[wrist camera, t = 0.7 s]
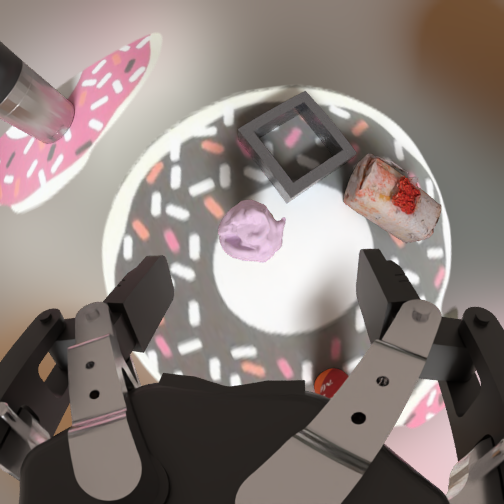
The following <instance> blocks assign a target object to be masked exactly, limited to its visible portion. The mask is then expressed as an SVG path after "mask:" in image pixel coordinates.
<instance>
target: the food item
mask: <svg viewBox="0 0 504 504" xmlns="http://www.w3.org/2000/svg"><path fill="white" fill-rule="evenodd" d="M395 168H399V169H400V170H401V171H402V172H406V173H408V172H407V171H405V170H404V169H402V168H401V167H400V166H398V165H397V164H395V163H394V162H392V161H389V160H385V159H383V158H381V157H377V156H374V154H367V155H365V157H364V158H363V159H362V160H360V161H359V162H358V164H357V165H356V167H355V169H354V171H353V172H352V174H351V177H350V179H349V182H348V185H347V189H346V191H345V195H344V201H343V202H344V203H345V204H346V205H348V206H349V207H351V208H352V209H353V210H355V211H356V212H357V213H359V214H360V215H362V216H364V217H366V218H367V219H369V220H370V221H372V222H373V223H375V224H377V225H378V226H380V227H381V228H383V229H384V230H386V231H387V232H389V233H391V234H392V235H394V236H395V237H397V238H398V239H400V240H402V241H403V242H405V243H407V242H415V241H420V240H425V239H427V238H429V237H430V236H431V235H432V233H433V232H434V228H435V226H436V224H437V222H438V219H439V216H440V213H441V205H440V204H438V203H437V202H436V201H435V200H434V199H433V198H431V197H430V196H429V195H428V194H427V193H425V192H424V191H423V190H421V189H420V188H419V187H418V185H417V182H418V178H417V177H413V178H411V177H409V179H408V178H406V177H405V176H403V175H402V174H400V173H399V172H397V171H396V169H395ZM408 174H409V173H408Z"/></svg>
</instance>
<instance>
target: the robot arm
mask: <svg viewBox="0 0 504 504" xmlns="http://www.w3.org/2000/svg"><path fill="white" fill-rule="evenodd" d="M73 117H74V107H73V104H72V103H71V102H70V101H68V100H67V99H66V98H65V97H64V96H63V95H62V94H60V93H59V92H58V91H57V90H56V89H54V88H53V87H52V86H51V85H50V84H49V83H48V82H46V81H45V80H44V79H43V78H42V77H41V76H39V75H38V74H37V73H36V72H35V71H34V70H33V69H31V68H30V67H29V66H28V65H27V64H25V63H24V62H23V61H22V60H21V59H20V58H18V57H17V56H16V55H15V54H14V53H13V52H12V51H10V50H9V49H8V48H7V47H6V46H5V45H4V44H3V43H2V42H0V119H2V120H4V121H5V122H7V123H9V124H11V125H13V126H14V127H16V128H18V129H20V130H22V131H23V132H25V133H27V134H29V135H31V136H33V137H34V138H36V139H38V140H40V141H42V142H44V143H47V144H49V143H53V142H55V141H57V140H58V139H60V138H61V137H62V136H63V135H64V134H65V133H66V131H67V130H68V128H69V127H70V125H71V123H72V120H73ZM356 294H357V299H358V302H359V306H360V309H361V312H362V315H363V318H364V322H365V325H366V328H367V332H368V335H369V339H370V342H371V346H370V348H369V349H368V351H367V352H366V354H365V355H364V356H363V358H362V359H361V361H360V362H359V363H358V365H357V366H356V368H355V369H354V370H353V372H352V373H351V374H350V376H349V377H348V378H347V379H346V381H345V382H344V383H343V385H342V386H341V387H340V388H339V390H338V391H337V392H336V393H335V395H334V396H333V397H332V398H331V399H330V398H328V397H325V396H323V395H320V394H317V393H313V392H309V391H305V380H296V381H263V382H257V383H251V384H245V385H238V386H230V387H229V386H223V385H220V384H217V383H213V382H210V381H207V380H204V379H201V378H197V377H194V376H185V375H176V374H168V373H163V374H162V377H161V379H160V381H159V383H153V384H148V385H144V386H141V384H140V381H139V378H138V375H137V372H136V369H135V366H134V363H133V360H132V358H131V356H130V354H131V352H132V351H136V352H143V353H144V351H145V350H146V348H147V346H148V344H149V342H150V340H151V338H152V337H153V335H154V333H155V331H156V329H157V328H158V326H159V324H160V322H161V320H162V318H163V317H164V315H165V313H166V311H167V310H168V308H169V306H170V304H171V302H172V301H173V297H174V287H173V283H172V279H171V275H170V271H169V268H168V264H167V260H166V258H165V256H163V255H160V256H146V257H145V258H144V260H143V261H142V262H141V263H140V264H139V265H138V266H137V267H136V268H135V269H133V270H132V271H130V272H129V273H127V275H126V276H125V277H124V278H123V279H122V281H120V283H119V284H118V285H117V287H115V288H114V290H113V291H112V292H111V293H110V294H109V295H108V297H107V298H106V299H105V300H104V301H103V302H94V303H91V304H88V305H86V306H84V307H83V308H81V309H80V310H79V311H78V313H77V314H76V317H75V318H71V319H64V318H63V316H62V314H61V312H60V310H58V309H49V310H46V311H44V312H42V313H41V314H40V315H38V316H37V317H36V318H35V320H34V321H33V322H32V323H31V324H30V325H29V327H28V328H27V329H26V330H25V332H24V333H23V334H22V335H21V336H20V338H19V339H18V340H17V341H16V342H15V344H14V345H13V346H12V348H11V349H10V350H9V351H8V353H7V354H6V355H5V357H4V358H3V359H2V361H1V362H0V468H1V469H2V470H3V471H5V472H7V473H9V474H10V475H11V476H13V477H14V478H16V479H17V480H19V481H20V497H19V504H504V330H503V328H502V326H501V325H500V323H499V322H498V320H497V318H496V317H495V316H494V315H493V314H492V313H491V312H490V311H488V310H486V309H484V308H481V307H470V308H468V309H466V311H465V312H464V314H463V317H462V319H454V318H446V317H442V316H441V312H440V310H439V309H438V308H437V307H436V306H435V305H434V304H432V303H430V302H428V301H425V300H421V299H420V298H419V296H418V294H417V293H416V291H415V289H414V288H413V286H412V284H411V283H410V282H409V280H408V278H407V276H405V273H404V272H403V270H402V269H401V267H400V266H399V265H397V264H396V263H394V262H393V261H392V260H388V261H386V259H385V258H384V256H383V254H382V253H381V251H380V250H379V249H361V250H360V253H359V262H358V273H357V282H356ZM48 352H49V353H50V355H51V356H52V357H53V359H54V361H55V362H56V365H55V366H54V368H53V369H52V371H51V373H50V374H49V376H48V377H47V379H46V381H45V382H43V380H42V379H41V378H40V376H39V373H38V367H39V364H40V363H41V361H42V360H43V358H44V357H45V355H46V354H47V353H48ZM476 370H477V373H478V375H479V377H480V381H481V386H480V383H479V381H478V378H477V376H476V374H475V371H476ZM418 378H421V379H430V380H438V383H439V386H440V389H441V393H442V396H443V399H444V403H445V406H446V410H447V414H448V418H449V422H450V426H451V430H452V434H453V438H454V443H455V448H456V453H457V458H458V462H457V463H456V465H455V466H454V467H453V469H452V471H451V473H450V478H449V486H448V492H447V495H445V494H444V493H443V492H442V491H441V490H440V489H439V488H437V487H436V486H435V485H434V484H432V483H431V482H430V481H429V480H427V479H426V478H425V477H424V476H422V475H421V474H420V473H419V472H417V471H416V470H415V469H414V468H413V467H411V466H410V465H409V464H408V463H407V462H405V461H404V460H403V459H402V458H401V457H399V456H398V455H397V454H395V452H393V451H392V450H391V449H390V448H389V447H387V446H386V445H385V444H384V442H385V441H386V439H387V437H388V435H389V434H390V432H391V431H392V429H393V427H394V425H395V424H396V422H397V420H398V418H399V417H400V415H401V413H402V411H403V409H404V407H405V405H406V403H407V401H408V399H409V397H410V395H411V393H412V391H413V389H414V387H415V385H416V383H417V381H418ZM69 403H70V406H71V416H72V426H71V427H69V428H68V429H66V430H64V431H62V432H60V433H59V434H57V435H55V436H53V435H54V433H55V431H56V429H57V427H58V425H59V423H60V421H61V419H62V417H63V415H64V413H65V411H66V409H67V407H68V405H69Z"/></svg>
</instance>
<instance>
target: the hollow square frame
mask: <svg viewBox="0 0 504 504" xmlns="http://www.w3.org/2000/svg"><path fill="white" fill-rule="evenodd" d="M299 114H300V115H301V117H302V118H303V119H304V120H305V121H306V122H307V124H308V125H309V126H310V127H311V128H312V130H313V131H314V132H315V133H316V135H317V136H318V137H319V138H320V140H321V141H322V142H323V143H324V145H325V146H326V147H327V148H328V150H329V151H330V152H331V154H332V155H333V157H331V158H330V159H328V160H327V161H325V162H324V163H322V164H321V165H319V166H318V167H316V168H315V169H313V170H312V171H310V172H309V173H307V174H306V175H304V176H303V177H301V178H300V179H298V180H297V181H295V182H294V183H293V182H292V180H291V179H290V178H289V176H288V175H287V174H286V172H285V171H284V170H283V169H282V167H281V166H280V165H279V163H278V162H277V161H276V159H275V158H274V157H273V156H272V154H271V153H270V152H269V150H268V149H267V148H266V147H265V145H264V144H263V143H262V142H261V140H260V139H259V138H260V137H262V136H263V135H265V134H266V133H268V132H270V131H271V130H273V129H275V128H276V127H278V126H280V125H282V124H283V123H285V122H287V121H288V120H290V119H292V118H294V117H295V116H297V115H299ZM238 139H239V141H240V142H241V144H242V145H243V146H244V148H245V149H246V150H247V151H248V153H249V154H250V155H251V156H252V158H253V159H254V160H255V162H256V163H257V164H258V166H259V167H260V168H261V170H262V171H263V172H264V173H265V175H266V176H267V177H268V179H269V180H270V181H271V183H272V184H273V186H274V187H275V188H276V190H277V191H278V192H279V194H280V195H281V196H282V198H283V199H284V200H285V202H286V203H288V202H290V201H291V200H293V199H294V198H296V197H297V196H298V195H300V194H301V193H303V192H304V191H306V190H307V189H309V188H310V187H312V186H313V185H314V184H316V183H317V182H319V181H320V180H322V179H323V178H325V177H326V176H328V175H329V174H331V173H332V172H333V171H335V170H336V169H338V168H339V167H341V166H342V165H344V164H345V163H347V162H348V161H349V160H350V159H351V158H353V157H354V156H355V155H356V154H357V153H356V151H355V150H354V149H353V147H352V146H351V145H350V143H349V142H348V141H347V139H346V138H345V137H344V136H343V134H342V133H341V132H340V131H339V129H338V128H337V127H336V126H335V124H334V123H333V122H332V121H331V120H330V118H329V117H328V116H327V115H326V114H325V112H324V111H323V110H322V109H321V108H320V107H319V106H318V104H317V103H316V102H315V101H314V100H313V99H312V98H311V97H310V95H309V94H308V93H307V92H306V91H304V92H302V93H300V94H298V95H297V96H295V97H293V98H291V99H289V100H287V101H285V102H283V103H282V104H280V105H278V106H276V107H274V108H273V109H271V110H269V111H267V112H266V113H264V114H262V115H260V116H259V117H257V118H255V119H254V120H252V121H250V122H249V123H247V124H245V125H244V126H242V127H240V128H239V129H238Z"/></svg>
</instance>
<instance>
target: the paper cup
mask: <svg viewBox="0 0 504 504" xmlns="http://www.w3.org/2000/svg"><path fill="white" fill-rule="evenodd" d="M348 377H349V376H348V375H347V374H346V373H345V372H343V371H342V370H340V369H336V368H332V369H328V370H325V371H323V372H322V373H321V374H320V375H319V376H318V377H317V378H316V380H315V384H314V389H315V393H317V394H320V395H323V396H325V397H328V398H330V399H331V398H332V397H333V396H334V395H335V393H336V392H337V391H338V390H339V388H340V387H341V386H342V385H343V383H344V382H345V381H346V379H347V378H348Z"/></svg>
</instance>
